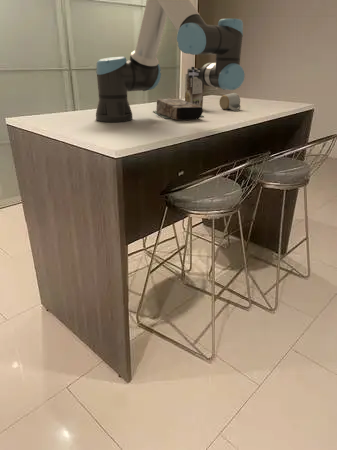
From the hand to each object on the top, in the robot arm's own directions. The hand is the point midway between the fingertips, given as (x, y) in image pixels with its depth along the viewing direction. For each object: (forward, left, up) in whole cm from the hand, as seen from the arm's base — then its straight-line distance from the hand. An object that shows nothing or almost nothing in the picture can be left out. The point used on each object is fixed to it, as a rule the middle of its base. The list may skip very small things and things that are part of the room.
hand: (189, 71), depth 136 cm
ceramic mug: (+32, +22, -19) cm, 43 cm away
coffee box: (+15, +31, -19) cm, 40 cm away
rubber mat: (0, +13, -18) cm, 23 cm away
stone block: (0, -3, -16) cm, 16 cm away
